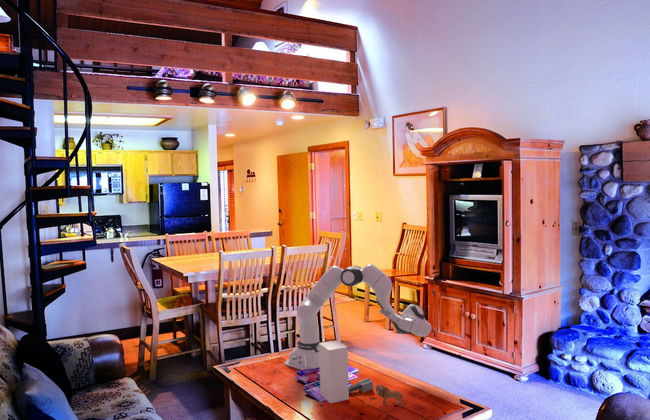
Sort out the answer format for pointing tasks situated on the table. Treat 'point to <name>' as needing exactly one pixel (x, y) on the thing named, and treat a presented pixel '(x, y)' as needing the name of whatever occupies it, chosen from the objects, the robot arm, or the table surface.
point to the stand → (334, 371)
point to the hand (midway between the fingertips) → (385, 313)
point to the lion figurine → (389, 394)
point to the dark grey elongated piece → (362, 385)
